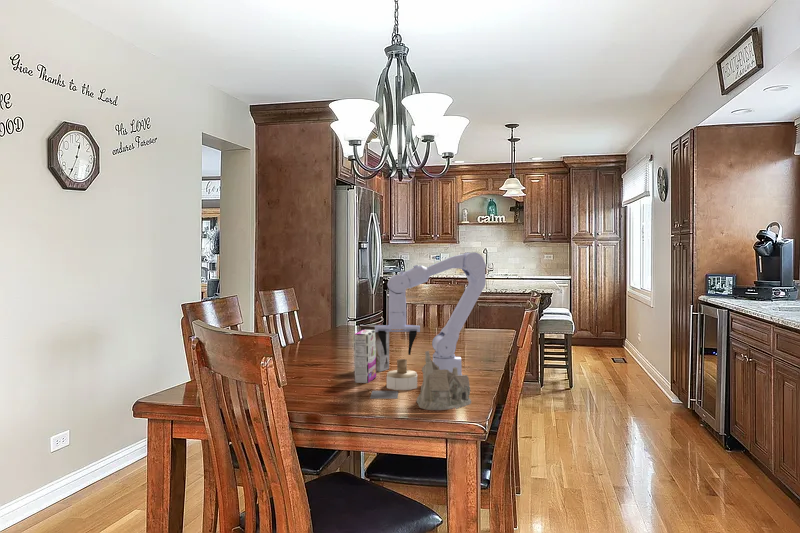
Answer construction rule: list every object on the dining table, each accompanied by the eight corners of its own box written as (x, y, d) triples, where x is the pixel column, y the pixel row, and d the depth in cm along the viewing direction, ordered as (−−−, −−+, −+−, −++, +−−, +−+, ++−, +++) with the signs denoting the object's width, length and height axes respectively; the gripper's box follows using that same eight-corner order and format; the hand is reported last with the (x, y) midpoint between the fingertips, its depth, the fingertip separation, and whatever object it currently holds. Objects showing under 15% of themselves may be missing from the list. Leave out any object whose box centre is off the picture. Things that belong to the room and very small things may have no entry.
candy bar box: (362, 376, 207) (362, 329, 206) (376, 377, 206) (376, 329, 205) (353, 383, 196) (353, 333, 195) (368, 384, 195) (368, 333, 194)
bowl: (417, 384, 194) (417, 372, 194) (417, 391, 184) (417, 378, 184) (387, 384, 194) (387, 372, 194) (386, 391, 185) (386, 378, 185)
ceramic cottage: (416, 411, 160) (419, 354, 161) (416, 398, 177) (419, 348, 177) (474, 415, 160) (478, 358, 160) (469, 402, 176) (472, 351, 177)
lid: (417, 372, 193) (417, 357, 193) (415, 378, 184) (415, 362, 184) (389, 372, 194) (389, 357, 194) (385, 377, 185) (385, 362, 185)
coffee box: (359, 369, 220) (359, 325, 220) (369, 366, 226) (369, 324, 225) (380, 371, 215) (380, 327, 215) (390, 369, 221) (390, 325, 220)
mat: (398, 392, 183) (398, 390, 183) (397, 399, 173) (397, 398, 173) (372, 391, 184) (372, 390, 184) (369, 399, 174) (369, 398, 174)
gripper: (374, 313, 189) (374, 356, 189) (420, 313, 189) (420, 356, 189) (375, 311, 196) (375, 352, 196) (419, 311, 196) (419, 352, 196)
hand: (397, 354), depth 193 cm, fingers open, 7 cm apart
